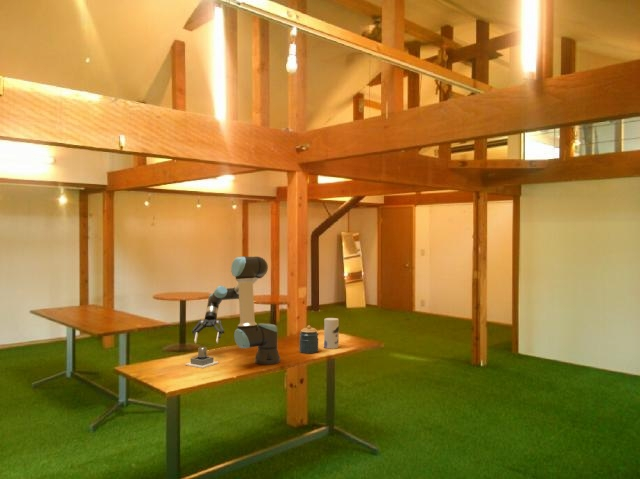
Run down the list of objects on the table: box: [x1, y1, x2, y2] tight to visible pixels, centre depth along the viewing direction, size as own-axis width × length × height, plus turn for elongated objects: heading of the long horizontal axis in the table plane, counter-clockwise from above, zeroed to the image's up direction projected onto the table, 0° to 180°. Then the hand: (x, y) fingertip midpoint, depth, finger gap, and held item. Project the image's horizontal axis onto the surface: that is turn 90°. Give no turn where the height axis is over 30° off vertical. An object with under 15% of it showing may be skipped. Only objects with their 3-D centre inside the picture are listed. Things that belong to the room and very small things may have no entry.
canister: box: [298, 324, 319, 355], centre depth 320 cm, size 13×13×18 cm
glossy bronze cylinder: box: [197, 346, 208, 360], centre depth 286 cm, size 5×5×9 cm
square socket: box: [184, 355, 220, 369], centre depth 286 cm, size 14×14×4 cm
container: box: [323, 317, 340, 350], centre depth 333 cm, size 10×10×20 cm
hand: (206, 342), depth 298 cm, fingers open, 13 cm apart
